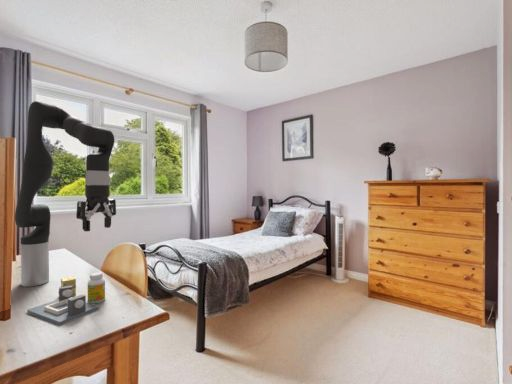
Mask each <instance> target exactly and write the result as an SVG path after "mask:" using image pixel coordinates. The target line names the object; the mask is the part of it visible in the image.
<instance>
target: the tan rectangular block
mask: <svg viewBox="0 0 512 384" xmlns="http://www.w3.org/2000/svg"><path fill="white" fill-rule="evenodd" d="M76 283H77V280H76V277H74V276H69V277H63V278H60V287H64V286H71V285H72V291H73V294H72V296H77V295H76V294H77V284H76Z"/></svg>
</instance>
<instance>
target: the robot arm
mask: <svg viewBox="0 0 512 384" xmlns="http://www.w3.org/2000/svg"><path fill="white" fill-rule="evenodd" d="M43 128H48V129H58V130H59V129H60V130H64V131H65V133H66V134H67V135H69V136H70V137H73V138H74V139H77V140H78V141H79V142H80V143H81V144H82V145H84V146H86V147H91V148H92V147H93V148H98V150H97V152H96V153H89V154H87V155H86V158H85V161H86V162H85V163H86V164H85V169H86V170H85V177H84V186H85V187H84V190H85V192H84V196H85V197H86V199H85V201H84V200H78V201H77V203H76V219H79V220H81V221H82V225H81V226H82V230H83V231H84V232H90V231H91V218H92V216H95V214H97V213H101V214H102V215H103V216H104V217H103V218H104V219H103V220H104V223H103V224H104V228H105V229H106V228H107V229H108V228H109V229H110V228H111V226H112V217H113V216H116V215H117V203H116V199H113V198H112V199H111V198H109V197H110V193H111V191H110V187H111V185H110V184H111V183H110V180H111V179H110V158H111V156H112V151H113V149H114V146H115V140H116V139H115V136H114V133H113V132H112V130H110V129H108V128H103V127H98V126H93V125H92V124H91V123H90V122H88V121H85V120H83V119H80V118H77V117H75V116H73V115H71V114H70V113H68V112H67V111H66V110H65V109H64V108H62V107H60V106H57V105H54V104H51V103H46V102H43V101H38V100H37V101H34V100H33V101H32V102H31V103H30V105H29V107H28V112H27V135H26V146H25V147H26V148H25V152H24V153H25V154H24V159H23V166H22V176H21V185H20V190H19V195H18V199H17V204H16V208H15V212H14V222H15V225H16V226H17V227H18V228H33V227H35V228H34V229H33V230H32V231H30V232H29V233H27V234H25V235H22V237H20V280H21V281H20V286H21V287H26V288H27V287H28V288H29V287H30V288H31V287H36V286H40V285H44V284H47V283H48V282H49V281H50V262H49V261H50V248H49V247H50V245H49V244H50V243H49V240H50V235H51V234H50V233H51V229H50V228H51V209H50V207H49V206H48V205H47V204H41V203H40V204H33V201H34V198H35V197H36V195H37V193H39V191H40V190H41V189H42V188H43V187H44V186H45V185H46V183H48V182H49V180H50V179H51V177H52V172H53V166H54V159H53V157H52V155H51V153H50V151H49V149H48V147H47V146H46V144H45V141H44V139H43Z"/></svg>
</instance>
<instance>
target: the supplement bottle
mask: <svg viewBox="0 0 512 384" xmlns="http://www.w3.org/2000/svg"><path fill="white" fill-rule="evenodd" d="M103 276H104V275H103V272H100V271H96V272H92V273H90V274H89V280H88V281H87V303H90V304H98V303H101V302H104V300H105V299H106V280H105V278H104V277H103Z"/></svg>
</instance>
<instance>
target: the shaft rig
mask: <svg viewBox="0 0 512 384" xmlns="http://www.w3.org/2000/svg"><path fill="white" fill-rule="evenodd" d="M72 294H73V291H72V285H71V286H64V287H61V286H59V288H58V299H55V300H52V301H49V302H46V303H43V304H41V305H36V306H35V307H32V308H29V309H27V310H26V311H27V312H26V313H27V314H29V315H32V316H34V317H37V318H39V319H41V320H44V321H48V322H50V323H53V324H55V325H58V326H61V325H64V324H66V323H68V322H71V321H74V320H76V319H78V318H81V317H84V316H85V315H88V314H90V313H92V312H95V311H98V310H99V305H97V304H94V303H89V302H87V301H86V295H85V294H79V295H75V296H73V295H72Z"/></svg>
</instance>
